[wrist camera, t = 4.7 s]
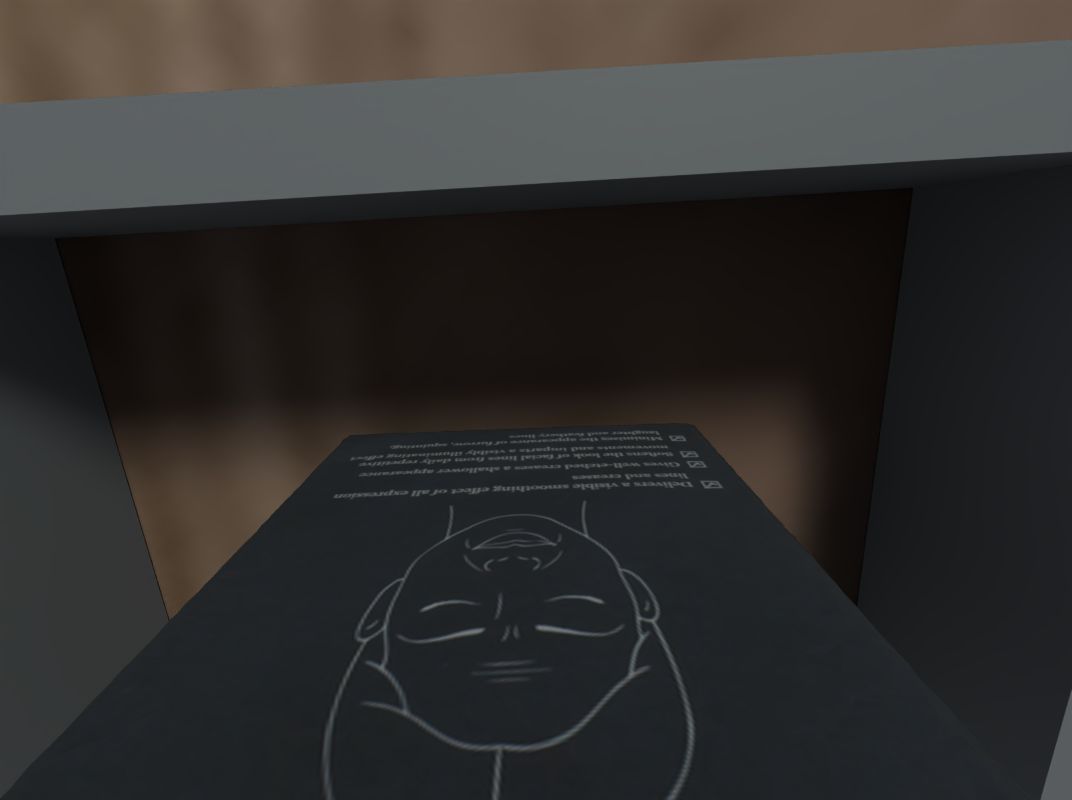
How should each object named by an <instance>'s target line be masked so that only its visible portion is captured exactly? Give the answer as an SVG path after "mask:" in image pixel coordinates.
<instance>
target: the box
mask: <svg viewBox="0 0 1072 800" xmlns="http://www.w3.org/2000/svg"><path fill="white" fill-rule="evenodd" d="M0 800H1031V799H1030V798H1029V797H1028V796H1027V795H1026V794H1025V793H1024V792H1023V791H1022V790H1021V789H1020V788H1019V787H1018V785H1017V784H1016V783H1015V782H1014V781H1013V780H1012V779H1011V778H1010V777H1009V776H1008V775H1007V774H1006V772H1005V771H1004V770H1003V769H1002V768H1001V767H1000V766H999V765H998V764H997V763H996V762H995V760H994V759H993V758H992V757H991V756H990V755H989V754H988V753H987V752H986V751H985V750H984V748H983V747H982V746H981V745H980V744H979V743H978V742H977V741H976V739H975V738H974V737H973V736H972V735H971V734H970V733H969V731H968V730H967V729H966V728H965V727H964V726H963V725H962V723H961V722H960V721H959V720H958V719H957V718H956V717H955V715H954V714H953V713H952V712H951V711H950V710H949V709H948V708H947V706H946V705H945V704H944V703H943V702H942V701H941V700H940V699H939V698H938V697H937V695H936V694H935V693H934V692H933V691H932V690H931V689H930V688H929V687H928V686H927V685H926V684H925V683H924V682H923V681H922V680H921V679H920V678H919V677H918V676H917V674H916V673H915V672H914V671H913V669H912V668H911V667H910V665H909V664H908V663H907V662H906V661H905V660H904V659H903V658H902V657H901V656H900V655H899V654H898V653H897V652H896V650H895V649H894V648H893V647H892V646H891V645H890V644H889V643H888V642H887V641H886V640H885V639H884V637H883V636H882V635H881V634H880V633H879V632H878V631H877V630H876V629H875V627H874V626H873V625H872V624H871V623H870V622H869V621H868V620H867V618H866V617H865V616H864V615H863V614H862V612H861V611H860V610H859V609H858V608H857V607H856V605H855V604H854V603H853V602H852V601H851V600H850V599H849V598H848V597H847V596H846V595H845V594H844V593H843V591H842V590H841V589H840V588H839V587H838V585H837V584H836V583H835V582H834V581H833V579H832V578H831V577H830V576H829V575H828V574H827V573H826V572H825V571H824V570H823V568H822V567H821V566H820V565H819V564H818V563H817V562H816V560H815V559H814V558H813V557H812V556H811V555H810V554H809V553H808V552H807V551H806V550H805V549H804V548H803V547H802V546H801V545H800V543H799V542H798V540H797V539H796V538H795V537H794V536H793V535H792V534H791V533H790V532H789V531H788V530H787V529H786V528H785V527H784V525H783V524H782V523H781V522H780V521H779V520H778V519H777V518H776V517H775V516H774V514H773V513H772V512H771V511H770V510H769V509H768V508H767V507H766V506H765V505H764V503H763V502H762V500H761V499H760V498H759V497H758V496H757V495H756V494H755V493H754V492H753V491H752V490H751V489H750V487H748V485H747V484H746V483H745V482H744V481H743V480H742V479H741V478H740V477H739V476H738V475H737V473H736V472H735V471H734V469H733V468H732V467H731V466H730V465H729V464H728V463H727V462H726V461H725V459H724V458H723V457H722V456H721V455H720V454H719V453H718V452H717V451H716V449H715V448H714V447H713V446H712V445H711V444H710V443H709V442H708V441H707V440H706V438H705V437H704V436H703V435H702V434H701V433H700V432H699V431H698V429H697V428H696V427H694V426H693V425H690V424H680V423H671V424H640V425H613V426H580V427H552V428H529V429H498V430H471V431H445V432H420V433H389V434H370V435H350V436H348V437H347V438H345V439H344V440H343V441H342V443H341V444H340V445H339V446H338V447H337V448H336V449H335V450H334V451H333V452H332V453H331V454H330V455H329V456H328V457H327V458H326V460H324V461H323V462H322V463H321V464H320V465H319V466H318V467H317V468H316V469H315V470H314V471H313V472H312V474H311V475H310V476H309V477H308V478H307V479H306V480H305V482H304V483H303V484H302V485H301V486H300V487H299V488H298V489H296V490H295V491H294V492H293V494H292V495H291V496H290V497H289V498H288V499H287V500H286V501H285V502H284V503H283V504H282V505H281V506H280V507H279V508H278V509H277V510H276V511H275V512H274V513H273V514H272V515H271V516H270V518H269V519H268V520H267V521H266V522H265V523H263V524H262V525H261V527H260V528H259V529H258V531H257V532H256V533H255V534H254V535H253V536H252V537H251V538H250V539H249V540H248V541H247V542H246V543H244V545H243V546H242V547H241V548H240V549H239V550H238V551H237V552H236V553H235V554H234V555H233V556H232V557H231V558H230V559H229V560H228V561H227V562H226V563H225V564H224V565H223V566H222V567H221V568H220V570H219V571H218V572H217V573H216V574H215V575H214V576H213V577H212V578H211V579H210V580H209V581H208V582H207V583H206V584H205V585H204V586H203V588H202V589H201V590H200V591H199V592H198V593H197V594H196V595H195V596H194V597H192V598H191V599H190V600H189V601H188V602H187V603H186V604H185V605H184V606H183V608H182V609H181V610H180V611H179V612H178V614H176V615H175V616H174V617H173V618H172V619H171V620H170V621H169V622H168V623H167V624H166V625H165V626H164V627H163V628H162V629H161V631H160V632H159V633H158V634H157V635H156V636H155V637H154V638H153V639H152V640H151V641H150V642H149V643H148V644H147V645H146V646H145V647H144V648H143V649H142V650H141V651H140V652H139V653H138V654H137V655H136V657H135V658H134V659H133V660H132V661H131V662H130V663H129V664H128V665H127V666H125V667H124V668H123V669H122V670H121V671H120V673H119V674H118V675H117V676H116V677H115V678H114V679H113V681H112V682H111V683H110V684H109V685H108V686H107V687H106V688H105V689H104V690H103V691H102V692H101V693H100V694H99V695H98V696H97V697H96V698H95V699H94V700H93V701H92V702H91V703H90V704H89V705H88V706H87V707H86V708H85V709H84V710H83V712H82V713H81V714H80V715H79V716H78V717H77V718H76V719H75V720H74V721H73V722H72V723H71V724H70V726H69V727H68V728H67V729H66V730H65V731H64V732H63V733H62V734H61V735H60V736H59V737H58V738H57V739H56V740H55V741H54V742H53V743H52V744H51V745H50V746H49V747H48V748H47V749H46V750H45V751H44V752H43V753H42V754H41V755H40V756H39V757H38V758H37V759H36V760H35V761H34V762H33V763H32V764H31V765H30V766H29V767H28V768H27V769H26V770H25V771H24V772H23V773H22V775H21V776H20V777H19V778H18V780H17V781H16V782H15V783H14V785H13V786H12V787H11V788H10V790H8V791H7V792H6V793H5V794H4V795H3V796H2V797H1V798H0Z"/></svg>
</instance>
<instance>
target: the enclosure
mask: <svg viewBox="0 0 1072 800" xmlns="http://www.w3.org/2000/svg"><path fill="white" fill-rule="evenodd" d="M901 188H913V192H912V200H911V207H910V214H909V222H908V229H907V237H906V244H905V252H904V259H903V267H902V274H901V282H900V289H899V296H898V304H897V311H896V319H895V326H894V334H893V341H892V349H891V356H890V363H889V371H888V378H887V386H886V393H885V401H884V408H883V416H882V423H881V431H880V438H879V445H878V453H877V460H876V468H875V475H874V483H873V490H872V498H871V505H870V513H869V520H868V527H867V535H866V542H865V550H864V557H863V565H862V572H861V580H860V587H859V595H858V602H857V608H858V609H859V610H860V611H861V612H862V614H863V615H864V616H865V617H866V618H867V620H868V621H869V622H870V623H871V624H872V625H873V626H874V627H875V629H876V630H877V631H878V632H879V633H880V634H881V635H882V636H883V637H884V639H885V640H886V641H887V642H888V643H889V644H890V645H891V646H892V647H893V648H894V649H895V650H896V652H897V653H898V654H899V655H900V656H901V657H902V658H903V659H904V660H905V661H906V662H907V663H908V664H909V665H910V667H911V668H912V669H913V671H914V672H915V673H916V674H917V676H918V677H919V678H920V679H921V680H922V681H923V682H924V683H925V684H926V685H927V686H928V687H929V688H930V689H931V690H932V691H933V692H934V693H935V694H936V695H937V697H938V698H939V699H940V700H941V701H942V702H943V703H944V704H945V705H946V706H947V708H948V709H949V710H950V711H951V712H952V713H953V714H954V715H955V717H956V718H957V719H958V720H959V721H960V722H961V723H962V725H963V726H964V727H965V728H966V729H967V730H968V731H969V733H970V734H971V735H972V736H973V737H974V738H975V739H976V741H977V742H978V743H979V744H980V745H981V746H982V747H983V748H984V750H985V751H986V752H987V753H988V754H989V755H990V756H991V757H992V758H993V759H994V760H995V762H996V763H997V764H998V765H999V766H1000V767H1001V768H1002V769H1003V770H1004V771H1005V772H1006V774H1007V775H1008V776H1009V777H1010V778H1011V779H1012V780H1013V781H1014V782H1015V783H1016V784H1017V785H1018V787H1019V788H1020V789H1021V790H1022V791H1023V792H1024V793H1025V794H1026V795H1027V796H1028V797H1029V798H1030V799H1031V800H1072V40H1058V41H1042V42H1025V43H1008V44H992V45H975V46H958V47H942V48H925V49H908V50H892V51H875V52H858V53H842V54H825V55H809V56H792V57H775V58H759V59H742V60H725V61H709V62H692V63H675V64H659V65H642V66H625V67H609V68H592V69H575V70H559V71H542V72H525V73H509V74H492V75H475V76H459V77H442V78H425V79H409V80H392V81H375V82H359V83H342V84H325V85H309V86H292V87H275V88H259V89H242V90H225V91H209V92H192V93H175V94H159V95H142V96H125V97H109V98H92V99H75V100H59V101H42V102H25V103H9V104H0V798H1V797H2V796H3V795H4V794H5V793H6V792H7V791H8V790H10V788H11V787H12V786H13V785H14V783H15V782H16V781H17V780H18V778H19V777H20V776H21V775H22V773H23V772H24V771H25V770H26V769H27V768H28V767H29V766H30V765H31V764H32V763H33V762H34V761H35V760H36V759H37V758H38V757H39V756H40V755H41V754H42V753H43V752H44V751H45V750H46V749H47V748H48V747H49V746H50V745H51V744H52V743H53V742H54V741H55V740H56V739H57V738H58V737H59V736H60V735H61V734H62V733H63V732H64V731H65V730H66V729H67V728H68V727H69V726H70V724H71V723H72V722H73V721H74V720H75V719H76V718H77V717H78V716H79V715H80V714H81V713H82V712H83V710H84V709H85V708H86V707H87V706H88V705H89V704H90V703H91V702H92V701H93V700H94V699H95V698H96V697H97V696H98V695H99V694H100V693H101V692H102V691H103V690H104V689H105V688H106V687H107V686H108V685H109V684H110V683H111V682H112V681H113V679H114V678H115V677H116V676H117V675H118V674H119V673H120V671H121V670H122V669H123V668H124V667H125V666H127V665H128V664H129V663H130V662H131V661H132V660H133V659H134V658H135V657H136V655H137V654H138V653H139V652H140V651H141V650H142V649H143V648H144V647H145V646H146V645H147V644H148V643H149V642H150V641H151V640H152V639H153V638H154V637H155V636H156V635H157V634H158V633H159V632H160V631H161V629H162V628H163V627H164V626H165V625H166V624H167V623H168V622H169V620H168V617H167V613H166V610H165V606H164V603H163V600H162V596H161V593H160V590H159V586H158V583H157V580H156V576H155V573H154V570H153V566H152V563H151V560H150V556H149V553H148V550H147V546H146V543H145V539H144V536H143V533H142V529H141V526H140V523H139V519H138V516H137V513H136V509H135V506H134V503H133V499H132V496H131V493H130V489H129V486H128V483H127V479H126V476H125V473H124V469H123V466H122V462H121V459H120V456H119V452H118V449H117V446H116V442H115V439H114V436H113V432H112V429H111V426H110V422H109V419H108V416H107V412H106V409H105V406H104V402H103V399H102V396H101V392H100V389H99V385H98V382H97V379H96V375H95V372H94V369H93V365H92V362H91V359H90V355H89V352H88V349H87V345H86V342H85V339H84V335H83V332H82V329H81V325H80V322H79V319H78V315H77V312H76V308H75V305H74V302H73V298H72V295H71V292H70V288H69V285H68V282H67V278H66V275H65V272H64V268H63V265H62V262H61V258H60V255H59V252H58V248H57V245H56V242H55V238H71V237H88V236H105V235H122V234H139V233H156V232H173V231H190V230H207V229H224V228H240V227H257V226H274V225H291V224H308V223H325V222H342V221H359V220H376V219H393V218H410V217H427V216H444V215H461V214H477V213H494V212H511V211H528V210H545V209H562V208H579V207H596V206H613V205H630V204H647V203H664V202H681V201H698V200H714V199H731V198H748V197H765V196H782V195H799V194H816V193H833V192H850V191H867V190H884V189H901Z"/></svg>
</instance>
